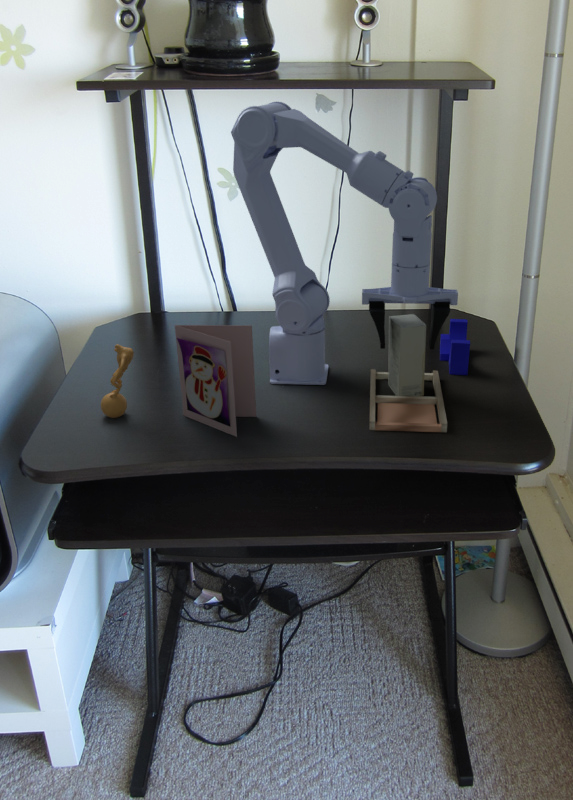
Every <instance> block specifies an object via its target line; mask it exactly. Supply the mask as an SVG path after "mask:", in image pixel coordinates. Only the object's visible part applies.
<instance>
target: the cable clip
mask: <svg viewBox="0 0 573 800" xmlns="http://www.w3.org/2000/svg"><path fill="white" fill-rule="evenodd" d="M468 323H469V322H468V319H463V318H461V319H459V318H450V319H449V331H448V332H449V333H441V334H440V338H439V339H440V341H439V361H440V362H441V361H442V362H444V361H445V362H448V372H449V373H448V374H449V375H455V376H468V374H469V373H468V371H469V360H470V352H471V351H470V350H471V349H470V347H471V341H470V339H469V340H468V339H467V338H468V336H467V334H468Z"/></svg>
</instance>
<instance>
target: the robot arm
mask: <svg viewBox="0 0 573 800" xmlns="http://www.w3.org/2000/svg"><path fill="white" fill-rule="evenodd" d="M230 134H231V136H232V139H233V143H234V144H233V164H232V165H233V167H232V169H233V172H232V173H233V175H234V178H235V181H236V184H237V186H238V189H239V190H240V193H241V196H242V198H243V201H244V203H245V206H246V209H247V210H248V213H249V215H250V219H251V221H252V223H253V226H254V229H255V231H256V234H257V236H258V239H259V243H260V245H261V246H262V249H263V251H264V254H265V257H266V260H267V262H268V264H269V267H270V269H271V272H272V274H273V277H274V282H273V287H272V298H273V301H274V306H275V311H274V313H275V315H274V316H275V319H276V321H277V323H278V325H273V326H271V327H270V329H269V337H268V342H269V343H268V354H269V355H268V357H269V360H268V361H269V363H268V366H269V384H272V385H273V384H274V385H275V384H276V385H306V386H308V385H310V386H313V385H315V386H316V385H317V386H325V385H326V384H327V379H328V372H329V364H327V363H326V349H325V348H326V332H325V331H326V324H325V320H324V314H325V313H326V312H327V310H328V309H329V307H330V303H331V301H330V295H329V294H330V293H328V290H327V289H326V287H324V285H322V284H321V282H320V281H319V280H318V278H317V275H316V273H315V271H314V270H313V269H311V268H310V267H308V266H307V265H306V264H305V260H304V258H303V255H302V253H301V251H300V247H299V245H298V243H297V240H296V238H295V235H294V232H293V229H292V227H291V224H290V222H289V219H288V217H287V214H286V211H285V209H284V205H283V202H282V201H281V197H280V195H279V193H278V190H277V186H276V185H275V182H274V180H273V176H272V174H271V170H272V168H273V166H274V163H275V162H276V159H277V157H278V155H279V153H280V152H281V151H282V150H283V149H287V148H300V149H301V148H302V149H303V150H304V151H306V152H309V153H310V154H312V155H314V156H316V157H317V158H319V159H321V160H323V161H325V162H326V163H328V164H330V165H331V166H334V168H337V169H338V170H340V171H342V172H343V173H346V177H347V180H348V183H349V186H350V187H352V188H353V189H355V190H357V192H360V194H363V195H364V196H365V197H367V198H369V199H370V200H372V201H374V202H376V203H377V204H378V205H380V206H382V207H383V208H385V209H388V212H389V215H390V217H391V218H392V220H393V233H392V250H391V251H392V253H391V278H390V279H391V280H390V286H387V287H378V288H377V287H376V288H362V291H361V305H367V306H368V310H369V315H370V317H371V318H372V320H373V322H374V326H375V328H376V330H377V333H378V338H379V344H380V347H379V348H380V349H381V350H385V349H386V333H385V331H386V330H385V325H386V324H385V322H386V320H385V319H386V317H385V316H386V304H408V305H409V304H413V305H414V304H422V305H423V304H425V305H426V304H429V305H430V304H431V320H430V329H429V330H430V331H429V337H428V347H429V350H435V346H436V342H437V339H438V336H439V333H440V331H441V330H442V327H443V325H444V323H445V322H446V320H447V319H448V317H449V315H450V313H451V306H458V303H459V302H458V298H459V291H458V289H452V288H451V289H450V288H447V289H446V288H439V287H430V270H431V255H432V253H431V252H432V236H433V233H432V226H433V224H432V222H433V221H432V220H433V216H432V214H431V213H432V212H433V211H434V209H435V208H436V205H437V203H438V202H437V201H438V194H437V190H436V188H435V187H434V185H433V184H432V183H431V182H429V180H428V179H427V178H426V177H423V176H422V177H421V176H417V177H414V173H413V172H412V171H410V170H407V171H404V170H403V169H402V168H400V167H398V166H396V165H395V164H393V163H392V162H390V161H388V160H387V159H386V158H387V154H386V153H384V152H382V151H380V150H378V151H377V152H376V153H375V152H374V151H372V150H367V151H364V152H361V153H360V152H358V151H356V150H355V149H353V148H352V147H351V146H349V145H348V144H346V143H345V142H344V141H342V140H341V139H339V138H338V137H336V136H334V134H332V133H330V132H329V131H328V130H327V129H325V128H323V127H322V126H321V125H320V124H318V123H316V122H315V121H314V120H312V119H311V118H309V117H308V116H307V115H306V114H304V113H303V112H302V111H300V110H299V109H296V108H293V109H292V107H290V105H288V104H287V103H285V102H282V101H273V102H270V103H267V104H261V105H252V106H247V107H245V108H244V109H242V110H241V112H240V113H239V114H238V116H237V118H236V120H235V122H234V125H233V127H232V129H231V131H230ZM430 214H431V215H430Z"/></svg>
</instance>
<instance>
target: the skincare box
mask: <svg viewBox="0 0 573 800" xmlns="http://www.w3.org/2000/svg"><path fill="white" fill-rule="evenodd" d="M426 339H427V324H426V323H425V322H424V321H423V320H421V319H420V318H419V317H418V316H417V315H416V314H415V313H409V314H399V315H389V316H388V360H387V361H388V369H387V370H388V371H387V372H388V379H387V380H388V381H387V386H388V387H389V388H390V389H391V391H392V392H393V394H394V396H424V395H425V380H424V373H426V372H425V370H426V368H425V365H426V362H425V361H426V343H427V340H426Z"/></svg>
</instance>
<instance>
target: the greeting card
mask: <svg viewBox="0 0 573 800" xmlns="http://www.w3.org/2000/svg"><path fill="white" fill-rule="evenodd" d="M174 330H175V331H174V332H175V340H176V342H175V343H176V351H177V352H176V353H177V363H178V372H179V381H180V383H179V384H180V391H181V392H180V394H181V402H182V403H181V404H182V413H183V416H184V417H187V418H189V419H191V420H193V421H197V422H199V423H201V424H204V425H207V426H208V427H211V428H214V429H216V430H219V431H221V432H224V433H226V434H228V435H231V436H233V437H236V438H238V433H237V431H238V430H237V417H239V418H240V417H241V418H242V417H248V418H251V417H252V418H256V417H257V403H256V401H257V400H256V399H257V398H256V382H255V359H254V345H253V342H254V341H253V340H254V339H253V326H252V325H243V324H242V325H238V324H237V325H235V324H234V325H230V324H229V325H224V324H223V325H221V324H220V325H219V324H215V325H211V324H209V325H208V324H205V325H204V324H192V325H191V324H188V325H187V324H175V325H174Z"/></svg>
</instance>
